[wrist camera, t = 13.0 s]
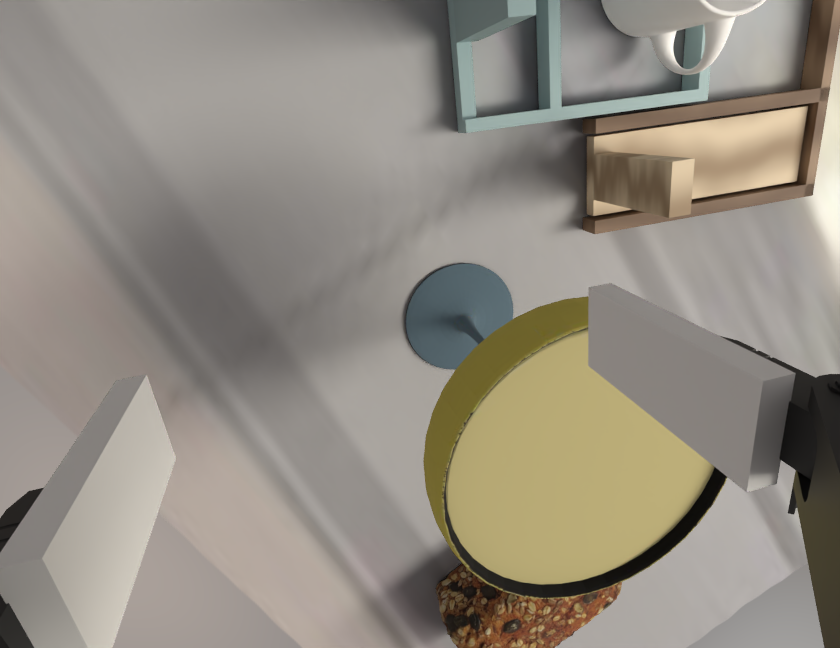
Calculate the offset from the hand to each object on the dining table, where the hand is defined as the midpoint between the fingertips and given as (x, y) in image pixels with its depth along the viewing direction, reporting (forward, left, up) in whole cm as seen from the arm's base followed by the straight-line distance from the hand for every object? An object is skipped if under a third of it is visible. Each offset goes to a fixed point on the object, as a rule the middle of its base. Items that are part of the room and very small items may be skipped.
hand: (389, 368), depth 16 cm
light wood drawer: (0, +36, -32) cm, 48 cm away
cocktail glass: (+12, +11, -32) cm, 36 cm away
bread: (+45, +15, -32) cm, 57 cm away
